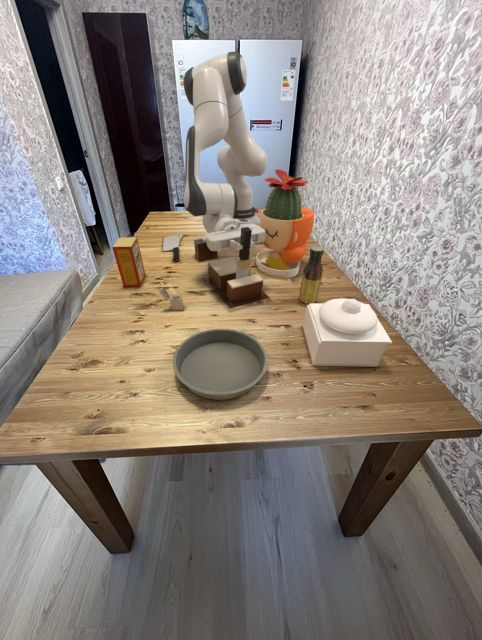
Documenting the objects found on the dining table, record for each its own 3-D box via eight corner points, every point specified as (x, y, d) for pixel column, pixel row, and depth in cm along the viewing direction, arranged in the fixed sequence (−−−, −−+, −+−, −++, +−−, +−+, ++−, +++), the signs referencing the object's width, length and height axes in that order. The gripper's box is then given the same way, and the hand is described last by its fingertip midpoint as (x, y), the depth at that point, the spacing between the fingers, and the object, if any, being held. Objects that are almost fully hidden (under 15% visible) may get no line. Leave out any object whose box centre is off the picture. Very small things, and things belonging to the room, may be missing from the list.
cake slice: (226, 296, 101) (227, 280, 96) (256, 289, 105) (258, 273, 100) (231, 303, 99) (232, 287, 94) (261, 295, 103) (263, 279, 98)
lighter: (183, 307, 99) (181, 286, 94) (183, 309, 98) (180, 289, 92) (163, 307, 99) (159, 286, 94) (162, 310, 98) (158, 289, 92)
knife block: (213, 253, 133) (212, 236, 127) (217, 258, 129) (217, 240, 124) (195, 257, 130) (193, 239, 124) (199, 261, 126) (197, 243, 121)
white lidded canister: (302, 326, 90) (311, 281, 79) (359, 327, 90) (376, 282, 79) (312, 365, 77) (325, 317, 66) (379, 367, 76) (403, 318, 66)
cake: (208, 277, 113) (207, 261, 109) (235, 271, 117) (235, 256, 112) (220, 291, 105) (220, 274, 101) (249, 284, 109) (250, 268, 104)
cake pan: (191, 420, 64) (189, 408, 61) (164, 353, 81) (162, 341, 78) (284, 386, 71) (286, 374, 68) (242, 331, 88) (242, 320, 85)
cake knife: (233, 289, 102) (237, 228, 86) (245, 286, 104) (251, 226, 88) (236, 293, 101) (241, 232, 84) (248, 290, 102) (255, 229, 86)
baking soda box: (129, 275, 117) (119, 236, 106) (145, 275, 117) (136, 236, 106) (123, 287, 110) (112, 246, 99) (140, 286, 110) (130, 245, 99)
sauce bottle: (304, 295, 104) (315, 241, 91) (319, 302, 101) (332, 247, 87) (294, 302, 101) (303, 247, 87) (309, 309, 97) (321, 253, 84)
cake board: (203, 279, 114) (203, 277, 113) (238, 271, 119) (238, 269, 118) (229, 311, 97) (229, 308, 96) (270, 300, 102) (270, 297, 101)
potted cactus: (272, 282, 112) (283, 180, 89) (247, 260, 127) (250, 168, 104) (317, 271, 118) (338, 174, 95) (288, 252, 134) (299, 164, 110)
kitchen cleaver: (163, 235, 148) (182, 232, 148) (164, 238, 149) (183, 235, 149) (159, 261, 125) (181, 257, 125) (160, 264, 126) (182, 261, 126)
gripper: (199, 227, 93) (215, 242, 84) (253, 218, 100) (274, 231, 90) (200, 246, 97) (216, 262, 88) (252, 237, 104) (272, 250, 95)
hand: (246, 246), depth 89 cm, fingers closed on cake knife, 2 cm apart
